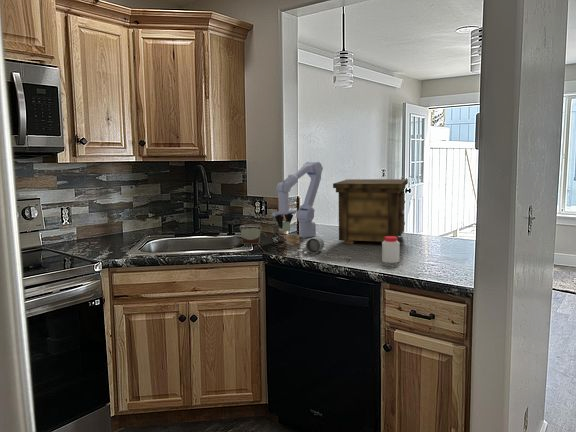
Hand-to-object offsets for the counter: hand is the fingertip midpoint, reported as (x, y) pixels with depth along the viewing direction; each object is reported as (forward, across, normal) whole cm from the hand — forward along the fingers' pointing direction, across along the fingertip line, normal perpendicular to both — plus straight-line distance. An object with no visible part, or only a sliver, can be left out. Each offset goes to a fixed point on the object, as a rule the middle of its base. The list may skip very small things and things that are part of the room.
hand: (284, 227), depth 272 cm
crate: (+8, -35, +34) cm, 49 cm away
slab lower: (+7, +3, +12) cm, 14 cm away
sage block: (+2, 0, 0) cm, 2 cm away
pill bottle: (+7, -5, +74) cm, 75 cm away
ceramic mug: (+7, +9, +35) cm, 37 cm away
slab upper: (+5, +3, +12) cm, 13 cm away
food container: (+7, +18, -6) cm, 20 cm away
